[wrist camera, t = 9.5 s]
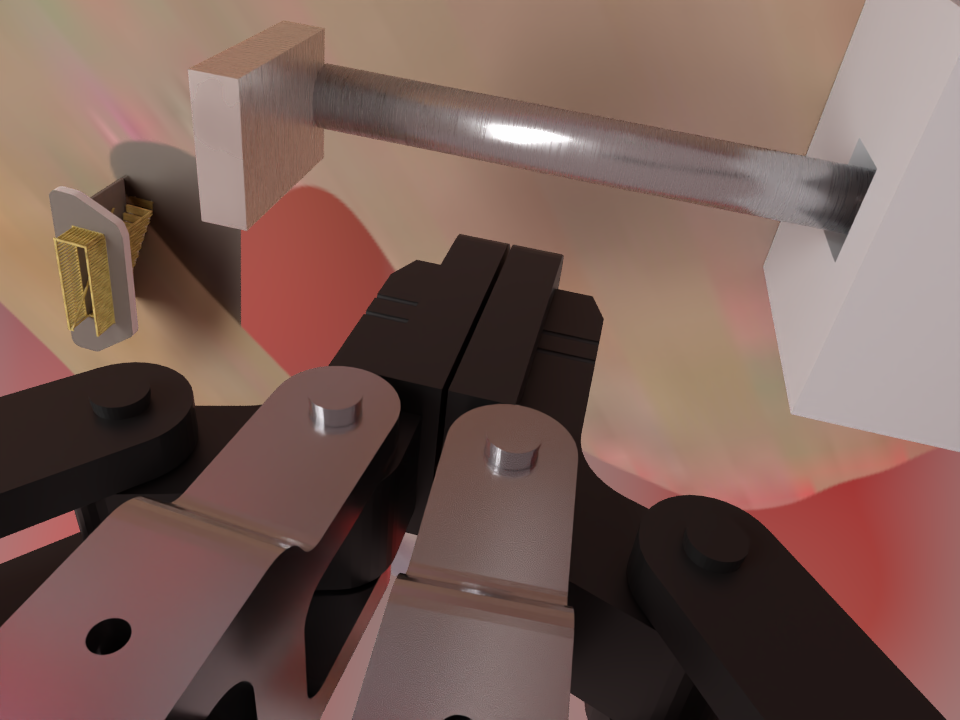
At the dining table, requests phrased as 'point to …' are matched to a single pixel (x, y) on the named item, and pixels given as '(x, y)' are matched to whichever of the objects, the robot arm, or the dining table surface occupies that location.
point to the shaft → (469, 138)
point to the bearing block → (882, 239)
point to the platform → (137, 241)
